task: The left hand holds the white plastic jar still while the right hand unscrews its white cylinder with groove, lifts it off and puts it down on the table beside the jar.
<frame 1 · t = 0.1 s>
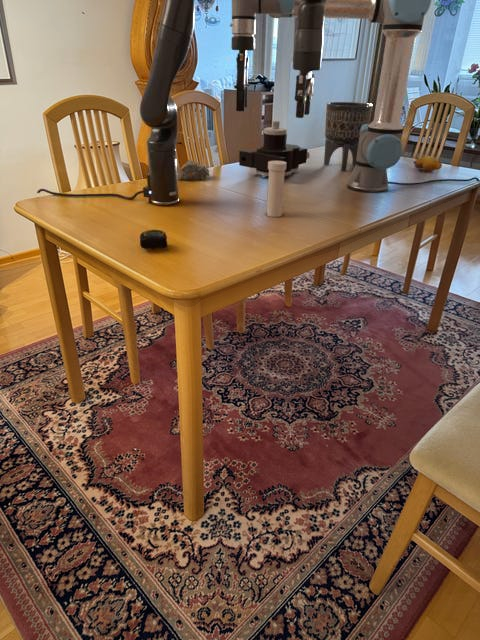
left hand: (302, 116, 129), 29 cm above the table, tool pointing down, fingers open, 8 cm apart
right hand: (241, 109, 155), 28 cm above the table, tool pointing down, fingers open, 13 cm apart
white cylinder with groove: (277, 163, 137), point 16 cm above the table, screwed on, not yet turned
tape measure: (155, 248, 118), on the table
toy: (425, 169, 209), on the table
planter: (341, 167, 211), on the table
mechanical component: (280, 173, 196), on the table
rock: (195, 178, 185), on the table
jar: (274, 214, 145), on the table
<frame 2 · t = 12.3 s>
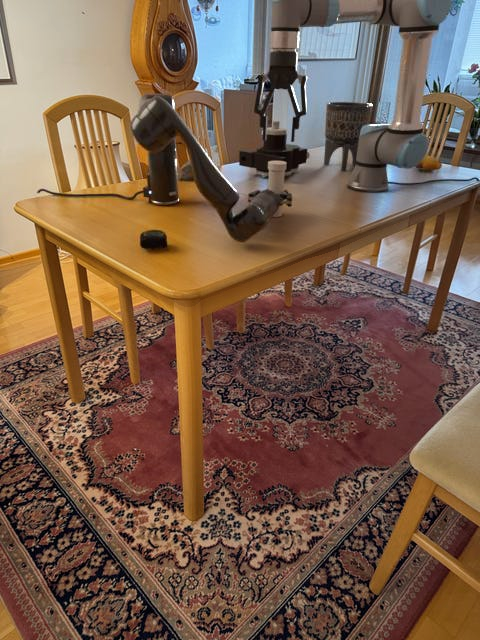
left hand: (277, 192, 144), 7 cm above the table, tool horizontal, fingers closed on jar, 5 cm apart
right hand: (278, 140, 134), 22 cm above the table, tool pointing down, fingers open, 8 cm apart
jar: (274, 214, 145), on the table, touching left hand
everything else where it was.
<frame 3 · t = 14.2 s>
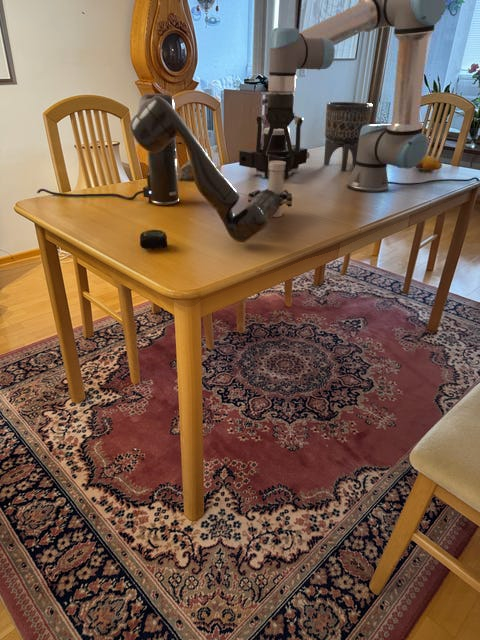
left hand: (277, 192, 144), 7 cm above the table, tool horizontal, fingers closed on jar, 5 cm apart
right hand: (276, 177, 139), 12 cm above the table, tool pointing down, fingers closed on white cylinder with groove, 5 cm apart
white cylinder with groove: (277, 163, 137), point 16 cm above the table, screwed on, not yet turned, touching right hand
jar: (274, 214, 145), on the table, touching left hand
everything else where it was.
when the right hand's fingers open (12 cm above the table, at t = 15.4 s): white cylinder with groove stays where it is, point 16 cm above the table.
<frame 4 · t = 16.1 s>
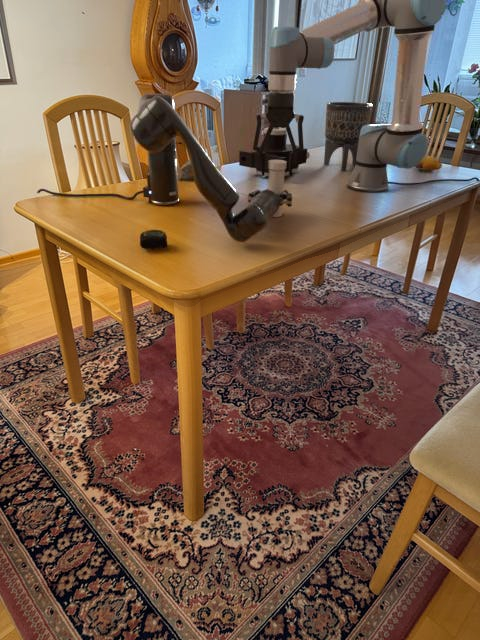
left hand: (277, 192, 144), 7 cm above the table, tool horizontal, fingers closed on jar, 5 cm apart
right hand: (276, 175, 139), 12 cm above the table, tool pointing down, fingers open, 8 cm apart
white cylinder with groove: (277, 162, 137), point 16 cm above the table, turned 88° so far, risen 0.3 cm, still on its thread
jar: (274, 214, 145), on the table, touching left hand
everything else where it was.
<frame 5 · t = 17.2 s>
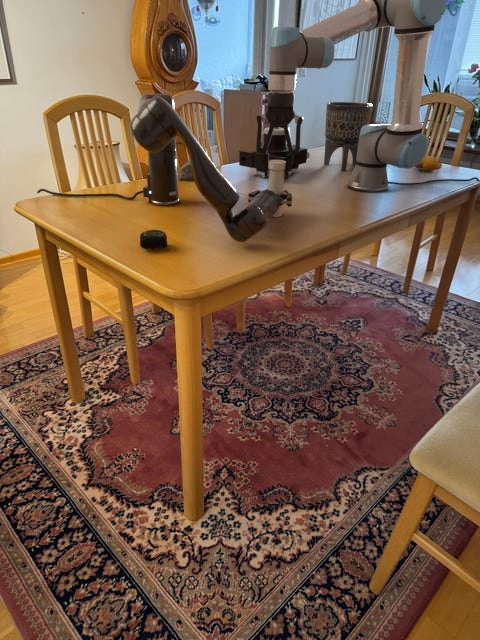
left hand: (277, 192, 144), 7 cm above the table, tool horizontal, fingers closed on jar, 5 cm apart
right hand: (276, 176, 139), 12 cm above the table, tool pointing down, fingers closed on white cylinder with groove, 5 cm apart
white cylinder with groove: (277, 162, 137), point 16 cm above the table, turned 88° so far, risen 0.3 cm, still on its thread, touching right hand
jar: (274, 214, 145), on the table, touching left hand
everything else where it was.
when the right hand's fingers open (0 cm above the table, at t = 24.0 s): white cylinder with groove drops 3 cm, point 2 cm above the table.
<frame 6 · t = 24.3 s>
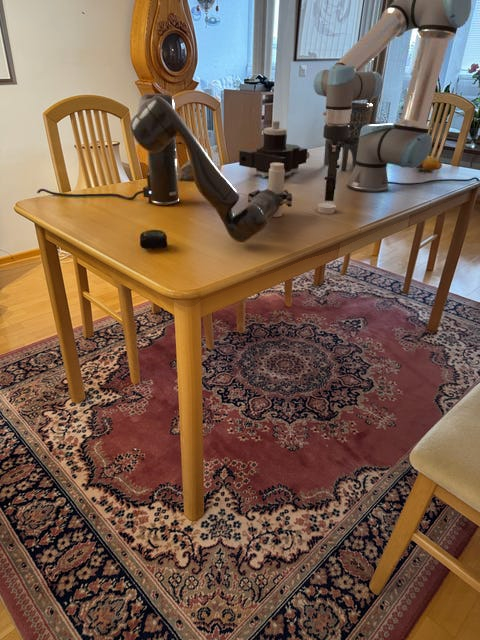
left hand: (277, 192, 144), 7 cm above the table, tool horizontal, fingers closed on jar, 5 cm apart
right hand: (330, 194, 147), 5 cm above the table, tool pointing down, fingers open, 13 cm apart
white cylinder with groove: (326, 206, 149), point 2 cm above the table, off its thread
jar: (274, 214, 145), on the table, touching left hand
everything else where it was.
when the left hand's fingers open (7 cm above the table, at t = 24.7 s): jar stays where it is, on the table.
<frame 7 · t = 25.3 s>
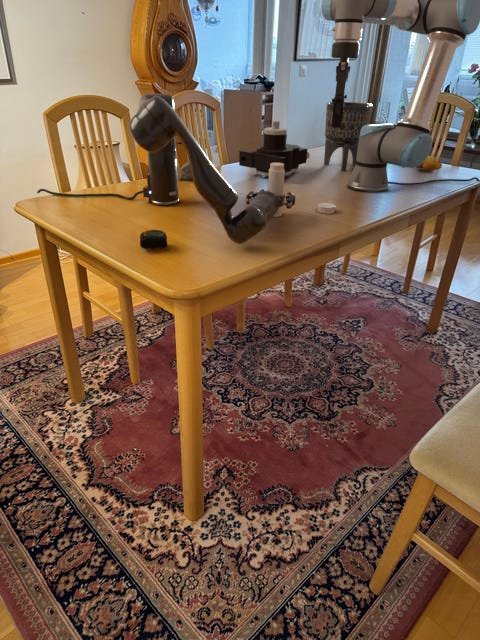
left hand: (276, 193, 142), 6 cm above the table, tool horizontal, fingers open, 8 cm apart
right hand: (336, 124, 136), 26 cm above the table, tool pointing down, fingers open, 13 cm apart
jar: (274, 214, 145), on the table
everything else where it was.
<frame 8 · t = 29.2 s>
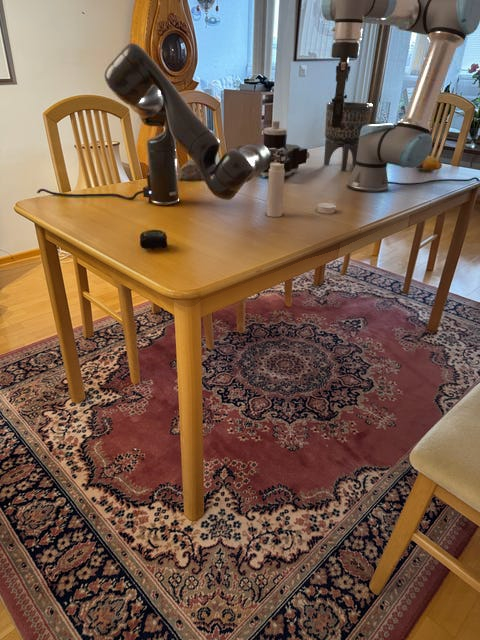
left hand: (268, 150, 124), 21 cm above the table, tool horizontal, fingers open, 8 cm apart
right hand: (336, 124, 136), 26 cm above the table, tool pointing down, fingers open, 13 cm apart
nothing on the table moved.
at the end: white cylinder with groove came off its thread; white cylinder with groove point 1.6 cm above the table; the left hand is holding nothing; the right hand is holding nothing; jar tilted 0°; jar moved 0.0 cm from its start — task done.
